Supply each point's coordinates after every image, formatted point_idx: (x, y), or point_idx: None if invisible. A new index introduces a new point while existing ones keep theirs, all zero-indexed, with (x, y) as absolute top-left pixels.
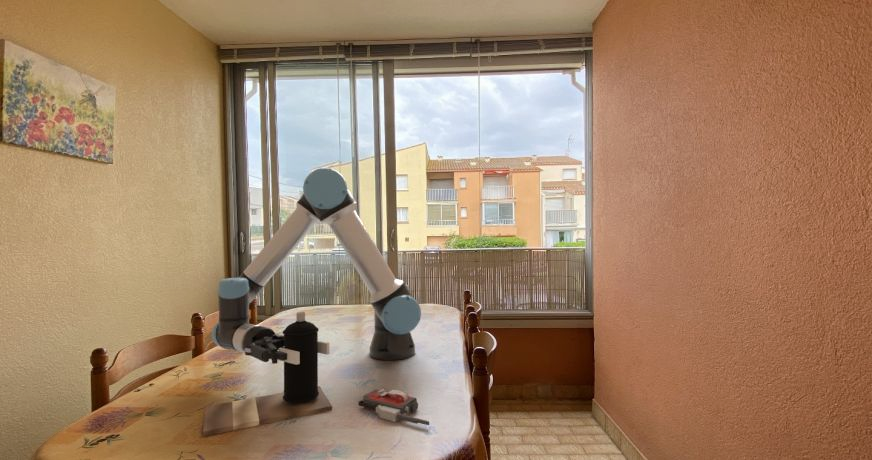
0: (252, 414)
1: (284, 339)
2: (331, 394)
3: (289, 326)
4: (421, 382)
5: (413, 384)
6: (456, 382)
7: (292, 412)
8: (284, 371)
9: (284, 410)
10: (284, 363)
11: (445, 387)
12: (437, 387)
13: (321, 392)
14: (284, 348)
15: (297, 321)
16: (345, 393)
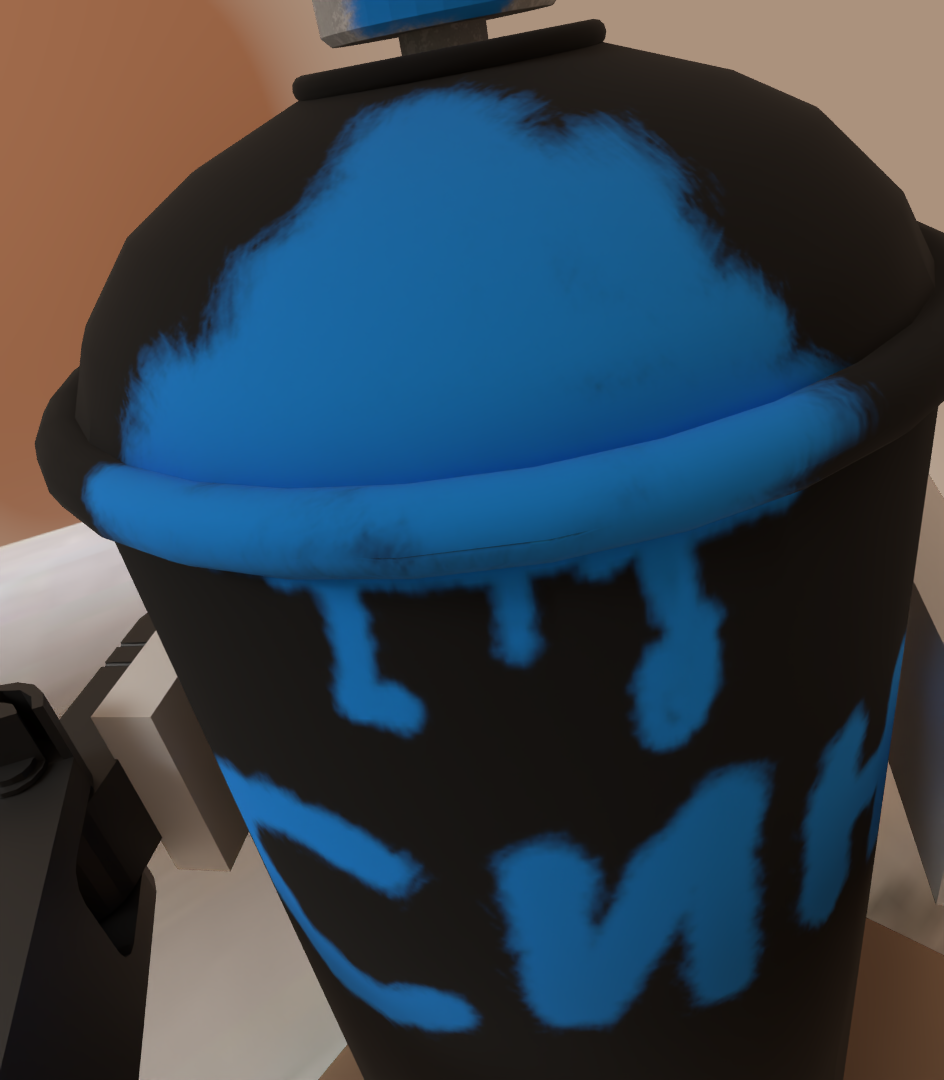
0: None
1: (922, 499)
2: (292, 1030)
3: (797, 113)
4: (20, 650)
5: (52, 665)
6: (36, 553)
7: (873, 947)
8: (851, 1011)
9: (917, 1063)
10: (863, 923)
11: (103, 556)
12: (103, 575)
13: (357, 1065)
14: (937, 626)
15: (447, 64)
16: (247, 927)
